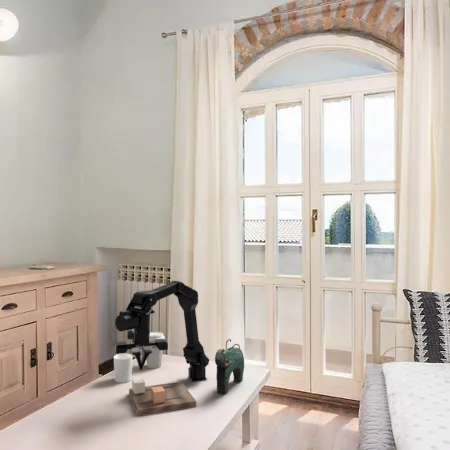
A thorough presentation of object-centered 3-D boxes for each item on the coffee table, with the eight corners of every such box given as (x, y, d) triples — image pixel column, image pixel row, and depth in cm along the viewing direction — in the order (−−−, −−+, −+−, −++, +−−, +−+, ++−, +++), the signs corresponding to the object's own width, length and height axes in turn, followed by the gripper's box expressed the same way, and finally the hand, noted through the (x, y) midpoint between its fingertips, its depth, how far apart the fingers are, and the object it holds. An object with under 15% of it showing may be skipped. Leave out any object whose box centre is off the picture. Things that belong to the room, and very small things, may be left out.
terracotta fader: (161, 396, 155) (161, 385, 155) (164, 402, 150) (165, 390, 150) (151, 398, 153) (151, 387, 153) (153, 403, 148) (154, 392, 148)
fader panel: (181, 386, 170) (181, 381, 170) (196, 406, 152) (196, 400, 152) (129, 393, 162) (129, 388, 162) (138, 415, 144) (138, 409, 144)
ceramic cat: (224, 397, 160) (225, 345, 160) (210, 393, 163) (210, 342, 163) (247, 380, 178) (247, 333, 178) (233, 377, 181) (233, 331, 181)
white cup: (122, 384, 172) (123, 360, 172) (109, 380, 176) (109, 357, 176) (136, 378, 179) (136, 355, 179) (123, 375, 183) (123, 352, 183)
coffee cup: (140, 369, 191) (140, 336, 190) (148, 362, 200) (148, 330, 200) (160, 370, 189) (161, 337, 189) (167, 363, 198) (167, 331, 198)
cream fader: (142, 387, 163) (142, 377, 163) (145, 392, 158) (145, 381, 158) (132, 389, 161) (132, 378, 161) (134, 394, 157) (134, 383, 157)
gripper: (162, 321, 164) (161, 361, 164) (113, 323, 157) (112, 365, 157) (168, 327, 154) (167, 369, 153) (116, 330, 147) (115, 374, 147)
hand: (140, 369), depth 153 cm, fingers closed
